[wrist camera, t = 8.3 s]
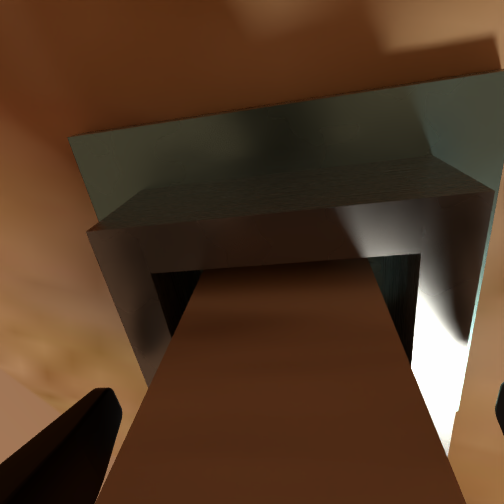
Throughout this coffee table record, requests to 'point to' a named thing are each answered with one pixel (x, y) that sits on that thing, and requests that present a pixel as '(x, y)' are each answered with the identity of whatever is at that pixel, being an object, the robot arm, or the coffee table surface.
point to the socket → (310, 209)
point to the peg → (284, 399)
